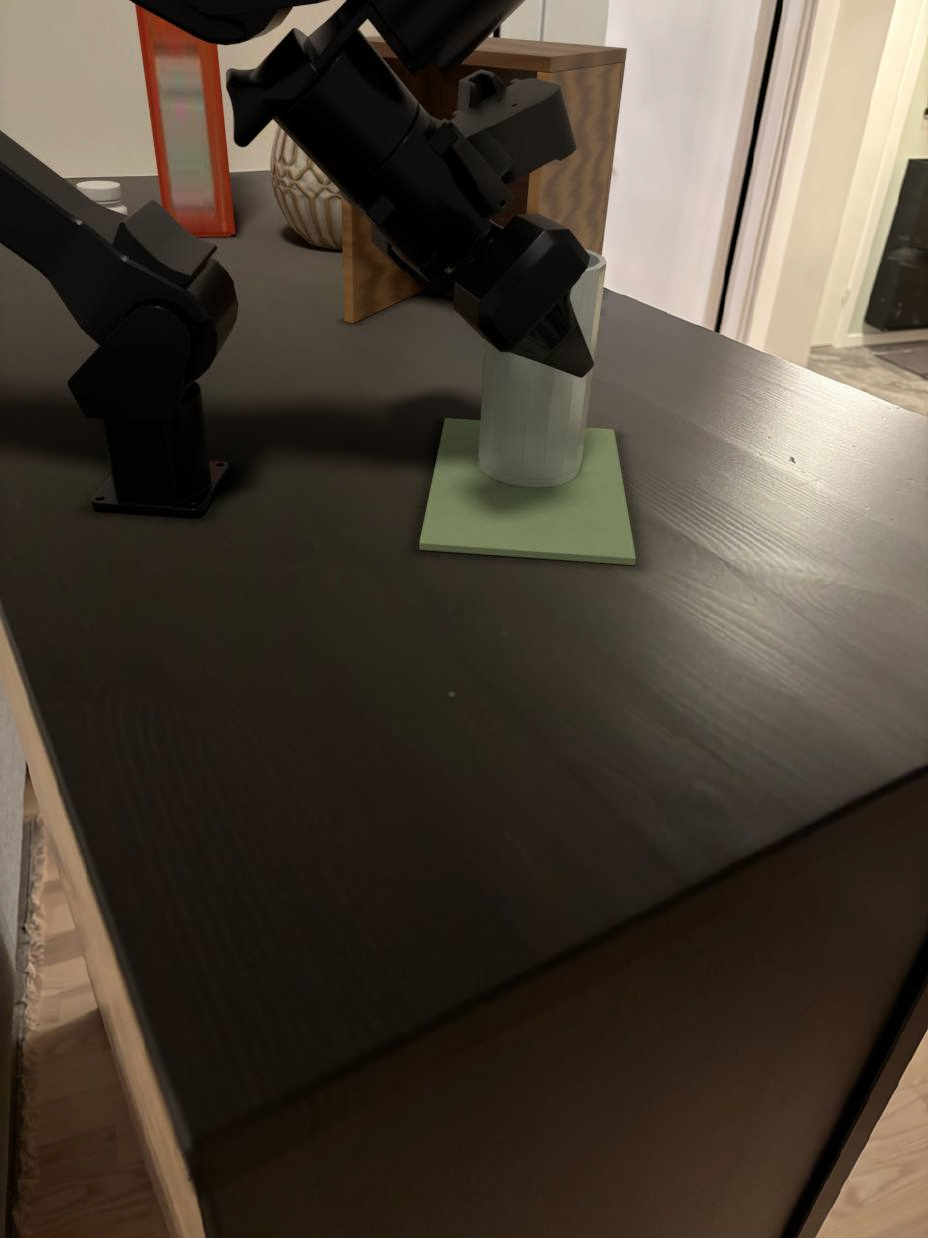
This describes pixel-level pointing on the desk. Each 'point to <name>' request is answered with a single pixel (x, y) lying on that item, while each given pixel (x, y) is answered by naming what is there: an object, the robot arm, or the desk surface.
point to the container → (539, 403)
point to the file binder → (187, 126)
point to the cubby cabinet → (552, 191)
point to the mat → (527, 505)
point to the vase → (305, 194)
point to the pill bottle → (104, 194)
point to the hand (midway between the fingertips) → (551, 344)
